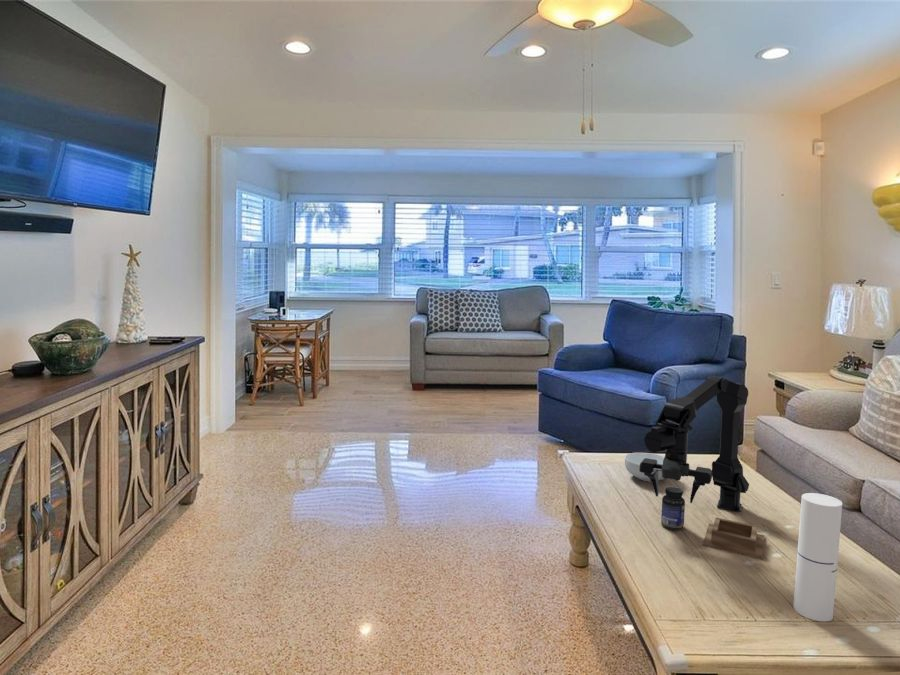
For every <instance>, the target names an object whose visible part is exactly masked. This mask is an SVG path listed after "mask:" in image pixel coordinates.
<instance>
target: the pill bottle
mask: <svg viewBox="0 0 900 675" xmlns="http://www.w3.org/2000/svg"><path fill="white" fill-rule="evenodd" d="M664 492H665V494H664V495H663V496H662V497H661V499H662V500H661V519H660V521H661V522H660V523H661V525H662V527H663V528H665V529H667V530H671V531H681V530H683V529H684V528H685V507H686V501H685V499H684V497H682V496H683V495H684V494H683V493H684V491H683V489H682V488H680V487H676V486H666V487H665V490H664Z"/></svg>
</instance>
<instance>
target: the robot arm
mask: <svg viewBox="0 0 900 675" xmlns="http://www.w3.org/2000/svg"><path fill="white" fill-rule="evenodd" d="M715 396H716V402H717V404H718V406H719V409H721V419H720V420H721V423H720V424H721V426H720V441H719V443H720V444H719V455H718V457H717V458H716V460H715V461H712V462H711V468H708V467H704V466H703V467H701V466H696V469H691V468H690V463H687V461H688V440H689V439H688V438H689V437H688V436H689V431H693V430H694V428H693V426H691V425H690V424H691V423H692V422H693V421H694V419H695V418H697V412H698V410H699V409H701V408H702V407H703V406H705V405H706V404H707V403H708V402H710V401H711V400H712V399H713V398H714V397H715ZM748 397H749V389H748V387H747V386H746V385H745V384H743V383H738V382H734V381H730V380H728V379H726V378H724V377H719V376H714V375H711V376H708V377H707V378H706V380H705V381H704V382H703V383H701V384H700V385H698V386H697V387H696V388H695V389H693V390H692V391H690V392H689V393H687V395H685V396H683V397H677V398H674V399H670V400H669V401H668V402H666V403H665V404H664V406H663V409H662V410H661V412H660V414H659V416H658V418H657V419H656V422H655V424H654V425H655V426H651V428H650V431H648V432H646V434H645V436H644V438H643V439H644V440H643V441H644V442H643V443H644V445H645V447H646V449H647V450H648V451H650V452H651V453H658V452H659V453H660V452H663V451H664V456H665V457H664V460H663V465H662V464H657V460H654V459H648V458H645V459H643V460H642V462H641V463H640V469H639V471H640V472H642V473H644V475H645V476H648V477H649V478H650V480H651V482H650V483H651V484H652V488H653V491H654V494H655V497H659V489H660V486H659V485H660V484H659V481H658V471H662V477H663V478H665V479H664V480H667V479H670V480H674V481H678V482H679V481H680V480H681V479H682V477H692V478H694V480H693V481H692V487H691V491H690V492H691V493H690V498H689V499H690V500H689V501H690V502H689V503H690V504H692V503H693V501H694V500H695V496H696V493H697V491H698V490H699V488H700V487H701V486H703V487H704V486H706V485H709V484H710V485H711V481H713V485H714V486H718V487H720V488H719V489H720V490H719V499H718V501H717V504H716V508H717V509H721V510H727V511H733V512H737V513H740V512H741V510H742V505H743V504H742V503H741V494H746V493H747V492H748V490H749V487H750V483H749V482H748V481H747V479H746V477H745V476H744V468H743V465H742V463H741V461H740V460H739V458H738V457H739V456H738V455H739V454H738V453H739V452H738V450H739V438H740V437H739V433H740V420H741V419H740V418H741V411H742V409H744V407H745V406H746V405H747V401H748Z"/></svg>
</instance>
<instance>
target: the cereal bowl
mask: <svg viewBox="0 0 900 675" xmlns="http://www.w3.org/2000/svg"><path fill="white" fill-rule="evenodd" d="M664 457H665V455H662V454H658V453H652V452H651V453H650V452H632V453H631V452H630V453H628V454H626V455H625V456H624V466H625V469H626V471H627V472H628V473H630V474H631V475H632V476H634V477H636V478H637V479H638V480H640V479H641V481H642V480H643V482H646V481H648V483H652V482H651V480H650V478H649V477H648V476H645V475H644V473H642V472H640V471H639V469H640V463H641V462H642V460H643V459H645V458H648V459H654V460H657V464H662V465H663V460H664ZM662 480H666V479H665V478H663V477H662V471H658V482H659V481H662Z"/></svg>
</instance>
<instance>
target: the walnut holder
mask: <svg viewBox="0 0 900 675" xmlns="http://www.w3.org/2000/svg"><path fill="white" fill-rule="evenodd" d="M714 518H715V519H714V522H713V523H712V524H711V523H708V526H707V529H706V532H705V535H704V539H703V541H702V546H705V547H709V548H712V549H717V550H722V551H725V552H731V553H736V554H739V555H744V556H749V557H750V558H751V557H752V558H757V559H762V560H763V558H764V545H765V535H764V534H760V533H758V526H757V525H755V524H751V523H747V522H745V523H744V522H740V521H736V520H731V519H725V518H720V517H714Z"/></svg>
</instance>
